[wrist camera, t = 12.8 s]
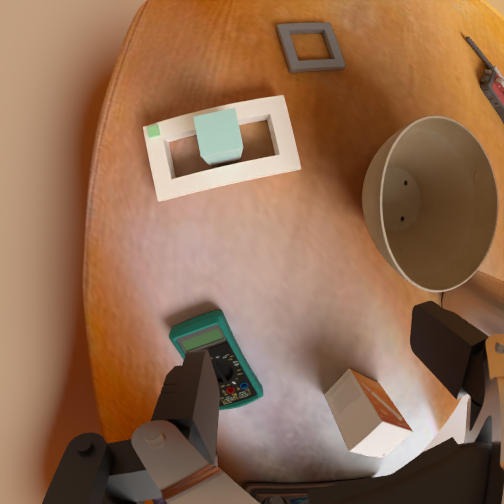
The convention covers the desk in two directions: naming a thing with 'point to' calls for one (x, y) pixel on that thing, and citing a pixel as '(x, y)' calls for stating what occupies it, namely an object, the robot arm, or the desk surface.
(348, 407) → the small box
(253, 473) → the desk surface
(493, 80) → the walkie-talkie
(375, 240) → the flower pot
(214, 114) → the plug
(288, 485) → the radio
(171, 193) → the port panel
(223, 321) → the digital multimeter
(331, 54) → the grey square ring
